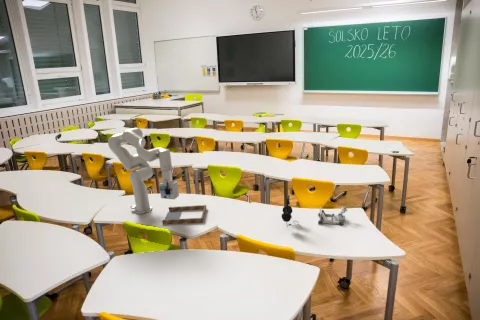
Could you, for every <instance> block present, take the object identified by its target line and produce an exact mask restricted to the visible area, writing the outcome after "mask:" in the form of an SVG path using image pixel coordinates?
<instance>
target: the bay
mask: <svg viewBox="0 0 480 320" xmlns="http://www.w3.org/2000/svg"><path fill="white" fill-rule="evenodd" d="M187 211H202V214H201V217H193V218H192V217H191V218H190V217H188V218H181V216H182V215H181V214H182V213H183V212H187ZM206 212H207V204H202V205H183V206H182V205H181V206H169V207H168V212H167V213H166V215H165V218H164V219H162V220H161V221H162V225H180V224H181V225H182V224H202V223H204V222H205V216H206V214H207V213H206Z"/></svg>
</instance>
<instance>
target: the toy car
mask: <svg viewBox="0 0 480 320" xmlns="http://www.w3.org/2000/svg"><path fill="white" fill-rule="evenodd" d="M346 212H348V207H347V206H344V205H343V206H342V208H341V210H340V213H338V214H335V213H332V214H331V213H326V212H325V210H324V209H322V207H319V212H318V214H317V215H318V217H319V220H318V222H317V224H318V225H323V224H330V225H331V224H332V225H336V224H337V225H339V226H344V222H346V215H345V213H346ZM343 214H344V215H343Z"/></svg>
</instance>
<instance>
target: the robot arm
mask: <svg viewBox="0 0 480 320" xmlns="http://www.w3.org/2000/svg"><path fill="white" fill-rule="evenodd" d="M107 142H108V143H107V145H108V147H109V149H110V150H111V152H112V153H113V154H114V155H115V156H116V157H117V158H118V160H119V162H120V163H121V164H122V166H123V167H124V169H126V170H127V171H131V172H130V173H129V180H130V182H131V185H132V190H133V197H134V203H135V204H131V205H130V209H131V210H133V209H134V210H133V211H134V213H135V214H137V215H138V214H139V215H141V214H146V213H149V212H151V211H152V210H153V207H152V206H151V205H150V202H149V201H150V200H149V199H150V198H149V192H148V187H147V185H146V184H145V182H144V181H146V180H149V179H150V178H152V177H153V175H154V171H153V169H152V167H151V165H150V164H149V163H151V162H154V161H157V160H159V167H160V171H161V182H162V183H163V185H164V186H165V194H166V195H170V194H171V193H170V189H169V185H170V184H171V182H172V181H173V173H172V170H173V165H172V159H171V158H172V157H171V150H170V149H168V148H163V147H158V146H157V147H155V148H151V149H145V148H144V147H145V145H146V139H145V138H144V137H143V131H142V130H141V129H140V128H139V127H133V128H129V129H126V130H124V131H123V132H120V133H115V134H113V135H112V136H109V138H108V140H107ZM127 144H129V145H131V146H132V147H134V148H135V149H136V150H135V151H136V152H137V153H135V154H133V155H132V154H131V153H130V152H129V150H128V149H126V148H125V147H123V146H124V145H127ZM148 162H149V163H148Z"/></svg>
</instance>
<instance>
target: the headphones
mask: <svg viewBox="0 0 480 320" xmlns="http://www.w3.org/2000/svg"><path fill="white" fill-rule="evenodd" d="M285 197H286V198H285V199H286V200H285V201H286V205H284V206H283V208H282V212H283V213H282V214H281V219H282V221H283V222H285V224H286V227H289V226H291V225H292V224H291V223H288V222H290V221H291V219H292V217H293V216H292V213H293V208H292V206H290V205H291V201H290V195H288V194H287V195H286V196H285ZM294 222H295V220H294V221H293V226H298V225H299V228H300V226H301V224H299V221H297V220H296V222H298V223H297V224H295V223H294Z"/></svg>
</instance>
